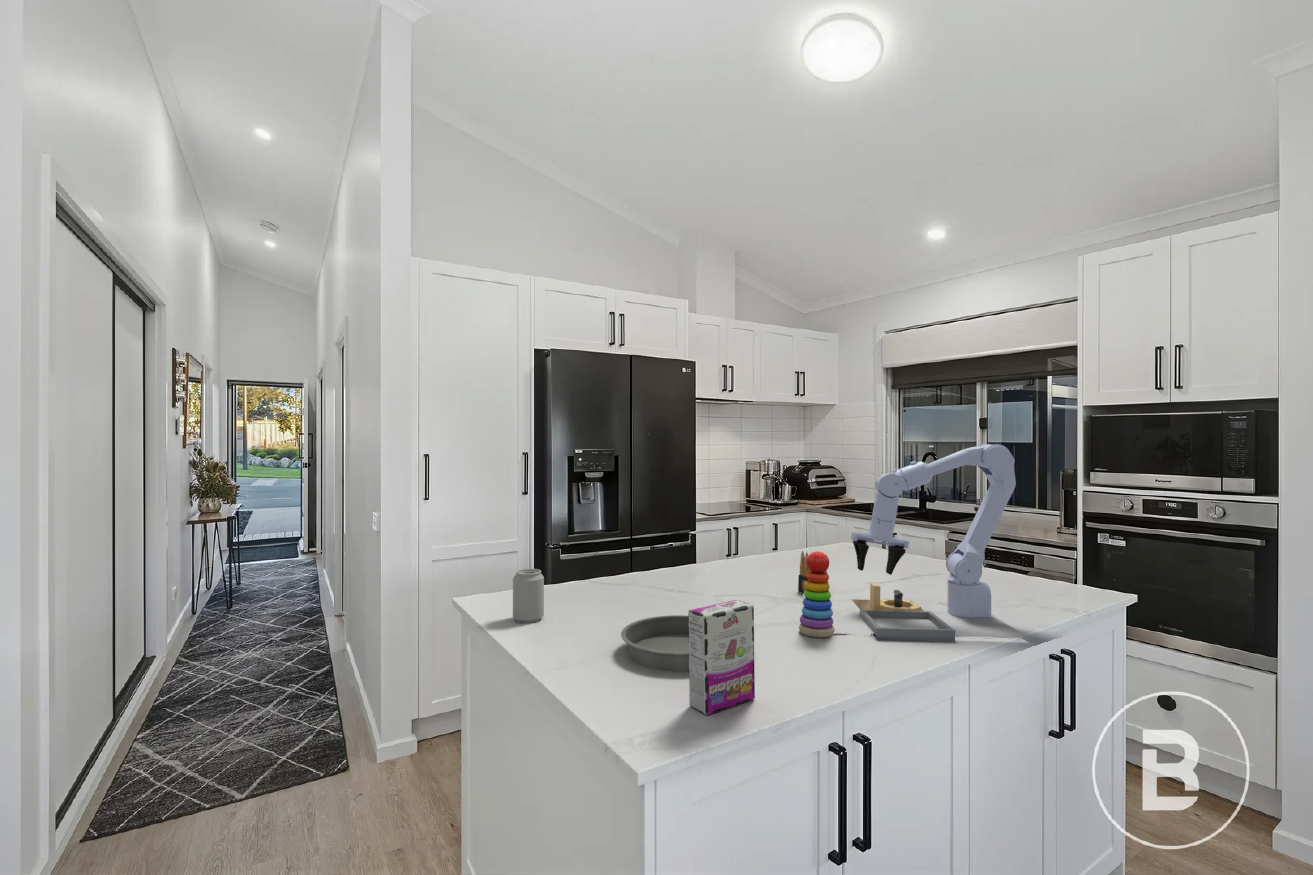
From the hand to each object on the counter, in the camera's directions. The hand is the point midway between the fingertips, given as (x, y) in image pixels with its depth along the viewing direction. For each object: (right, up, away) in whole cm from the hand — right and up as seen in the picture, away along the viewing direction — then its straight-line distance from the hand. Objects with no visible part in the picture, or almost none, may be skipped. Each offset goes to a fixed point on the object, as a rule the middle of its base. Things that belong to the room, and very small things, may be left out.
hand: (874, 571), depth 162 cm
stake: (+6, -9, 0) cm, 11 cm away
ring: (+6, -9, 0) cm, 11 cm away
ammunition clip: (-12, -11, +16) cm, 23 cm away
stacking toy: (-19, -11, -17) cm, 28 cm away
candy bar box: (-45, -11, -55) cm, 72 cm away
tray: (+2, -11, -15) cm, 18 cm away
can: (-88, -10, -7) cm, 89 cm away
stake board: (+4, -10, +1) cm, 11 cm away
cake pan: (-51, -11, -30) cm, 60 cm away
